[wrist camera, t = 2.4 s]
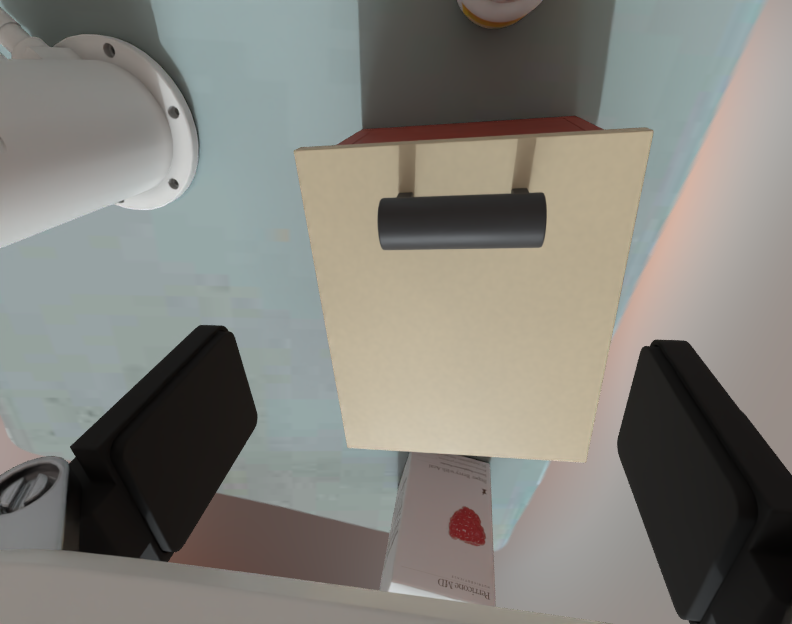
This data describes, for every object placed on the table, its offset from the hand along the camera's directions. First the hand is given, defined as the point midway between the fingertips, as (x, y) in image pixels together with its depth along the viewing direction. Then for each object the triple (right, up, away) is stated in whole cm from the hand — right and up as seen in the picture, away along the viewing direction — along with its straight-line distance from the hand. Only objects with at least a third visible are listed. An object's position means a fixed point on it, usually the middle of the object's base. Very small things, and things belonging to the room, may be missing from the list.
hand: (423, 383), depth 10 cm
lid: (+3, +1, +13) cm, 14 cm away
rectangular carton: (+5, -17, +39) cm, 43 cm away
